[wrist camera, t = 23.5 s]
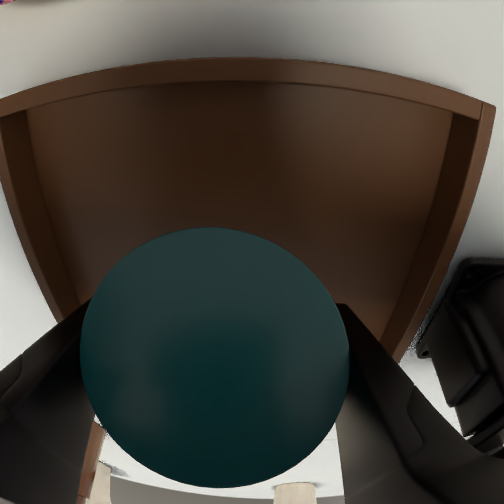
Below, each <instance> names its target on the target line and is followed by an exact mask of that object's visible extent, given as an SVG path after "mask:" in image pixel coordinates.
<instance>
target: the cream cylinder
mask: <svg viewBox="0 0 504 504" xmlns="http://www.w3.org/2000/svg"><path fill="white" fill-rule="evenodd" d="M273 504H317V501H316V494H315V487H314V484H312V483H288V484H282V485H278V486H276V487H275V495H274V503H273Z"/></svg>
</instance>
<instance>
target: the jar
mask: <svg viewBox="0 0 504 504" xmlns="http://www.w3.org/2000/svg"><path fill="white" fill-rule="evenodd" d="M105 435H106V431H105V430H104V429H103V428H102V427H101V426H100V425H98V424H97V423H95V422H94V421H93V425H92V429H91V433H90V437H89V442H88V446H87V450H86V455H85V460H84V464H83V469H82V475H81V480H80V486H79V491H78V497H77V503H76V504H85V503H86V499H90V495H91V490H92V486H93V482H94V478H95V473H96V469H97V465H98V461H99V457H100V454H101V450H102V446H103V442H104V439H105Z"/></svg>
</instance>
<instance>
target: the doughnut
mask: <svg viewBox="0 0 504 504" xmlns="http://www.w3.org/2000/svg"><path fill="white" fill-rule="evenodd" d="M12 1H15V0H0V5H3V4H7V3H9V2H12Z"/></svg>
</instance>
